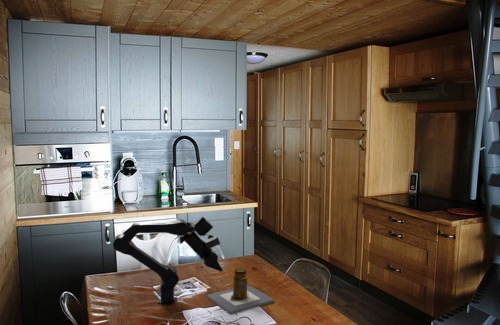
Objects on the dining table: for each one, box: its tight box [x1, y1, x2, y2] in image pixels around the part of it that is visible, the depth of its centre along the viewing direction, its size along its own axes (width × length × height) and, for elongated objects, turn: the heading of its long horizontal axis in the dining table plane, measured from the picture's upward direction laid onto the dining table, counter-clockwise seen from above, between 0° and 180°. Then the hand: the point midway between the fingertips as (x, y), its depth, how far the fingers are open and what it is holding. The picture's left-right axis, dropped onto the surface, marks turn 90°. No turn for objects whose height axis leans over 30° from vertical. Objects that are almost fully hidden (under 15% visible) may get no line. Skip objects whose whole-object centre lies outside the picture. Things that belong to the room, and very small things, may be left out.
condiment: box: [230, 267, 249, 302], centre depth 180 cm, size 7×8×12 cm
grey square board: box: [206, 284, 275, 315], centre depth 181 cm, size 22×20×1 cm
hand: (219, 267), depth 183 cm, fingers open, 9 cm apart
